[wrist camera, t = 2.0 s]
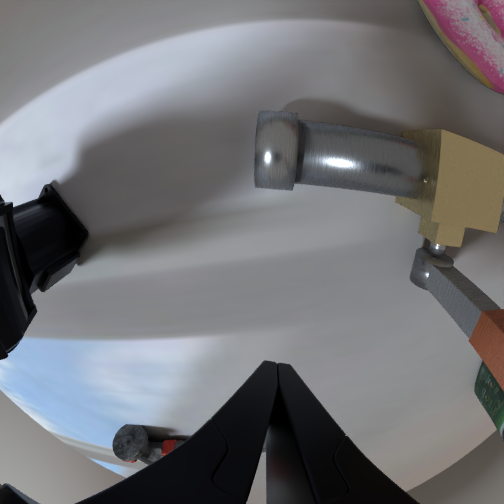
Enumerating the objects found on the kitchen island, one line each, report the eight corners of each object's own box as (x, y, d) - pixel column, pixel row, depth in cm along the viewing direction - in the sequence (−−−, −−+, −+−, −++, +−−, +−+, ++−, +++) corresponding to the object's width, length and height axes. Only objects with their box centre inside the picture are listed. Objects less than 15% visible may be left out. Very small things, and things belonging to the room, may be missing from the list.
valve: (159, 457, 37) (102, 421, 31) (296, 444, 33) (258, 405, 27) (155, 485, 32) (92, 454, 25) (300, 479, 27) (261, 455, 21)
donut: (383, 15, 12) (410, -14, 7) (423, -48, 7) (443, -70, 2) (502, 127, 13) (540, 129, 9) (521, 43, 8) (550, 38, 4)
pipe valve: (256, 226, 18) (248, 254, 14) (262, 111, 15) (256, 95, 11) (470, 247, 17) (505, 272, 12) (485, 158, 14) (526, 166, 10)
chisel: (403, 272, 18) (506, 413, 5) (409, 246, 17) (533, 376, 4) (433, 274, 18) (537, 396, 5) (440, 249, 17) (560, 362, 4)
